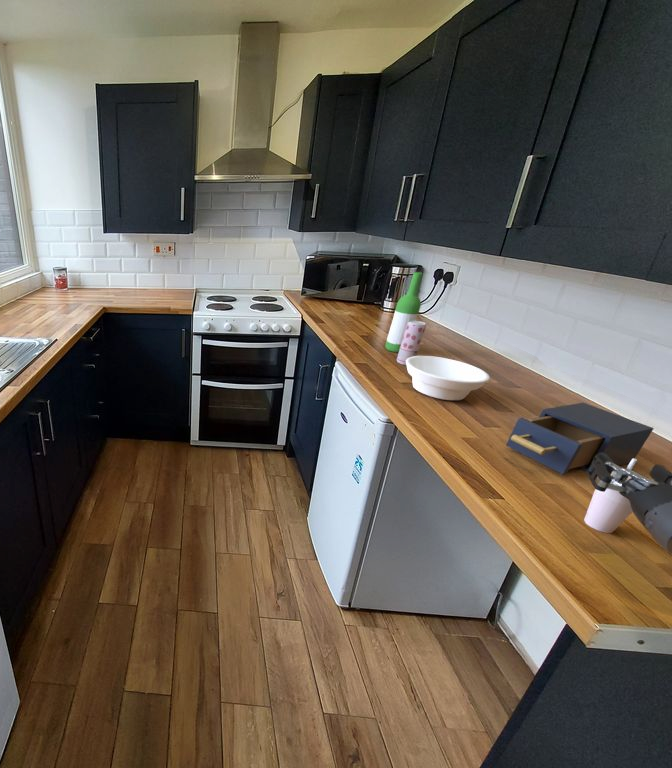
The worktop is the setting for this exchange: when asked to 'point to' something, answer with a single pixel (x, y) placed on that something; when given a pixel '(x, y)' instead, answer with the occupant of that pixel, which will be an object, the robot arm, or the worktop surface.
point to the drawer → (554, 443)
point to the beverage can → (411, 341)
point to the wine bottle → (404, 314)
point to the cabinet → (605, 430)
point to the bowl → (444, 377)
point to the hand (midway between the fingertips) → (626, 463)
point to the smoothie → (608, 508)
